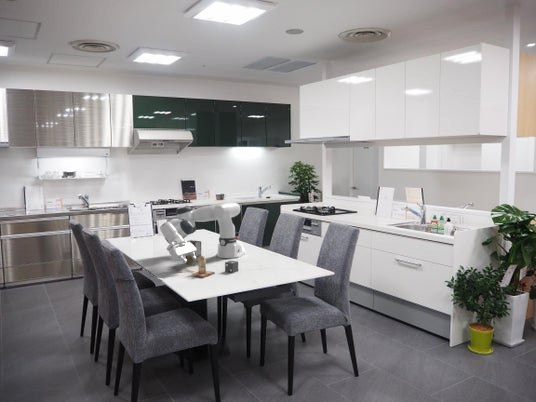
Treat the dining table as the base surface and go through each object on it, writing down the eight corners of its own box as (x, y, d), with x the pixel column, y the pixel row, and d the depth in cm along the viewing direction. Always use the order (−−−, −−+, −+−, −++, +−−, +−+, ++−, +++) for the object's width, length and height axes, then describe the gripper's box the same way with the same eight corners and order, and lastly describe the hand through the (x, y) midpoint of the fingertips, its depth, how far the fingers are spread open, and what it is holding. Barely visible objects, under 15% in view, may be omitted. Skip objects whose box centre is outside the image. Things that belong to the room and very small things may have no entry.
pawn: (201, 271, 280) (201, 254, 279) (207, 272, 278) (206, 255, 277) (197, 273, 276) (196, 256, 275) (202, 274, 274) (202, 256, 273)
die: (230, 269, 290) (230, 260, 289) (238, 270, 287) (238, 261, 287) (225, 271, 285) (224, 262, 284) (233, 273, 282) (233, 263, 281)
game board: (176, 267, 295) (176, 265, 294) (214, 273, 280) (214, 271, 280) (164, 271, 284) (164, 270, 284) (202, 278, 270) (202, 276, 270)
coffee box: (202, 265, 302) (201, 241, 301) (195, 267, 297) (195, 242, 295) (191, 263, 307) (191, 239, 305) (185, 265, 301) (184, 241, 300)
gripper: (185, 243, 294) (198, 260, 291) (164, 249, 276) (177, 267, 273) (191, 237, 292) (203, 254, 288) (170, 243, 274) (183, 260, 270)
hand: (190, 260), depth 280 cm, fingers open, 8 cm apart
